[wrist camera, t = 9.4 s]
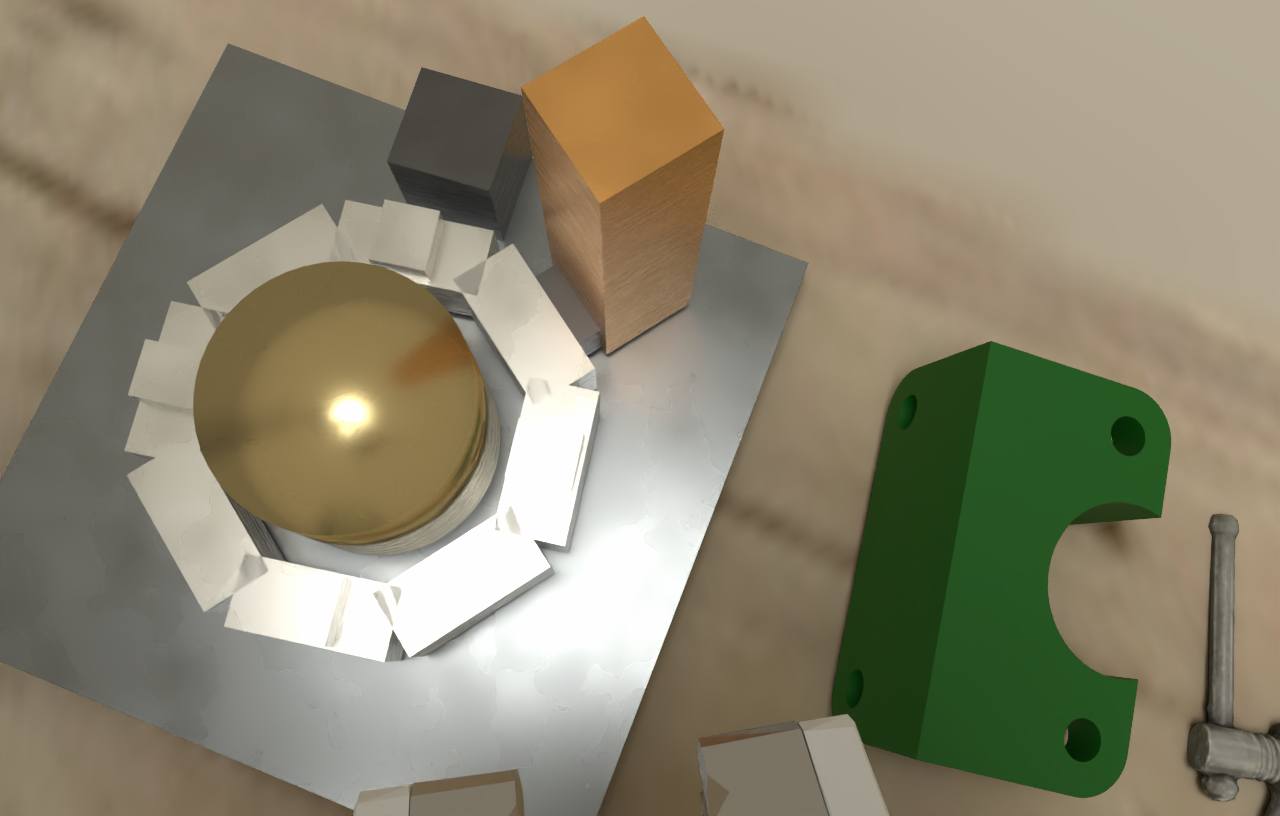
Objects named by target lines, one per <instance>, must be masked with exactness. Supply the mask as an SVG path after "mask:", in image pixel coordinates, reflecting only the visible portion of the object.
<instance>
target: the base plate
mask: <svg viewBox="0 0 1280 816" xmlns="http://www.w3.org/2000/svg"><path fill="white" fill-rule="evenodd" d="M532 156H533V155H532V149H531V143H530V138H529V132H528V126H527V121H526V115H525V109H524V104H523V98H522V96H521V95H517V94H514V93H510V92H507V91H503V90H500V89H496V88H493V87H489V86H486V85H482V84H479V83H475V82H472V81H468V80H465V79H461V78H458V77H454V76H451V75H447V74H443V73H440V72H436V71H433V70H429V69H426V68H421V70H420V73H419V76H418V79H417V81H416V84H415V87H414V89H413V92H412V95H411V97H410V100H409V103H408V105H407V108H406V111H405V110H403V109H400V108H397V107H395V106H392V105H389V104H387V103H384V102H382V101H379V100H376V99H374V98H371V97H368V96H366V95H363V94H360V93H358V92H355V91H352V90H350V89H347V88H345V87H342V86H339V85H337V84H334V83H331V82H329V81H326V80H323V79H321V78H318V77H315V76H313V75H310V74H308V73H305V72H302V71H300V70H297V69H294V68H292V67H289V66H286V65H284V64H281V63H279V62H276V61H273V60H271V59H268V58H265V57H263V56H260V55H257V54H255V53H252V52H249V51H247V50H244V49H242V48H239V47H236V46H234V45H231V44H228V45H227V47H226V48H225V50H224V52H223V54H222V56H221V58H220V60H219V62H218V64H217V66H216V68H215V70H214V72H213V73H212V75H211V77H210V79H209V81H208V83H207V85H206V87H205V89H204V91H203V93H202V95H201V96H200V98H199V100H198V102H197V104H196V106H195V108H194V110H193V112H192V114H191V116H190V118H189V120H188V121H187V123H186V125H185V127H184V129H183V131H182V133H181V135H180V137H179V139H178V141H177V143H176V144H175V146H174V148H173V150H172V152H171V154H170V156H169V158H168V160H167V162H166V164H165V166H164V168H163V169H162V171H161V173H160V175H159V177H158V179H157V181H156V183H155V185H154V187H153V189H152V191H151V192H150V194H149V196H148V198H147V200H146V202H145V204H144V206H143V208H142V210H141V212H140V214H139V216H138V217H137V219H136V221H135V223H134V225H133V227H132V229H131V231H130V233H129V235H128V237H127V239H126V240H125V242H124V244H123V246H122V248H121V250H120V252H119V254H118V256H117V258H116V260H115V262H114V264H113V265H112V267H111V269H110V271H109V273H108V275H107V277H106V279H105V281H104V283H103V285H102V287H101V288H100V290H99V292H98V294H97V296H96V298H95V300H94V302H93V304H92V306H91V308H90V310H89V312H88V313H87V315H86V317H85V319H84V321H83V323H82V325H81V327H80V329H79V331H78V333H77V335H76V336H75V338H74V340H73V342H72V344H71V346H70V348H69V350H68V352H67V354H66V356H65V358H64V360H63V361H62V363H61V365H60V367H59V369H58V371H57V373H56V375H55V377H54V379H53V381H52V383H51V384H50V386H49V388H48V390H47V392H46V394H45V396H44V398H43V400H42V402H41V404H40V406H39V408H38V409H37V411H36V413H35V415H34V417H33V419H32V421H31V423H30V425H29V427H28V429H27V431H26V432H25V434H24V436H23V438H22V440H21V442H20V444H19V446H18V448H17V450H16V452H15V454H14V456H13V457H12V459H11V461H10V463H9V465H8V467H7V469H6V471H5V473H4V475H3V477H2V479H1V480H0V661H1V662H3V663H5V664H8V665H10V666H13V667H15V668H17V669H20V670H22V671H24V672H27V673H29V674H32V675H34V676H36V677H39V678H41V679H43V680H46V681H48V682H51V683H53V684H55V685H58V686H60V687H63V688H65V689H67V690H70V691H72V692H74V693H77V694H79V695H82V696H84V697H86V698H89V699H91V700H93V701H96V702H98V703H101V704H103V705H105V706H108V707H110V708H112V709H115V710H117V711H120V712H122V713H124V714H127V715H129V716H132V717H134V718H136V719H139V720H141V721H143V722H146V723H148V724H151V725H153V726H155V727H158V728H160V729H162V730H165V731H167V732H170V733H172V734H174V735H177V736H179V737H181V738H184V739H186V740H189V741H191V742H193V743H196V744H198V745H201V746H203V747H205V748H208V749H210V750H212V751H215V752H217V753H220V754H222V755H224V756H227V757H229V758H231V759H234V760H236V761H239V762H241V763H243V764H246V765H248V766H250V767H253V768H255V769H258V770H260V771H262V772H265V773H267V774H270V775H272V776H274V777H277V778H279V779H281V780H284V781H286V782H289V783H291V784H293V785H296V786H298V787H300V788H303V789H305V790H308V791H310V792H312V793H315V794H317V795H319V796H322V797H324V798H327V799H329V800H331V801H334V802H336V803H338V804H341V805H343V806H346V807H348V808H350V809H353V810H354V807H355V804H356V801H357V799H358V796H359V793H360V791H364V790H371V789H377V788H384V787H391V786H397V785H404V784H411V783H417V782H425V781H432V780H440V779H447V778H455V777H462V776H470V775H477V774H485V773H492V772H500V771H507V770H515V769H517V770H518V773H519V777H520V781H521V785H522V789H523V798H524V814H525V816H597V814H598V811H599V809H600V806H601V804H602V801H603V798H604V796H605V793H606V791H607V788H608V785H609V783H610V780H611V777H612V775H613V772H614V770H615V767H616V764H617V762H618V759H619V757H620V754H621V751H622V749H623V746H624V744H625V741H626V738H627V736H628V733H629V730H630V728H631V725H632V723H633V720H634V717H635V715H636V712H637V710H638V707H639V704H640V702H641V699H642V697H643V694H644V691H645V689H646V686H647V683H648V681H649V678H650V676H651V673H652V670H653V668H654V665H655V663H656V660H657V657H658V655H659V652H660V650H661V647H662V644H663V642H664V639H665V636H666V634H667V631H668V629H669V626H670V623H671V621H672V618H673V616H674V613H675V610H676V608H677V605H678V602H679V600H680V597H681V595H682V592H683V589H684V587H685V584H686V582H687V579H688V576H689V574H690V571H691V569H692V566H693V563H694V561H695V558H696V555H697V553H698V550H699V548H700V545H701V542H702V540H703V537H704V535H705V532H706V529H707V527H708V524H709V522H710V519H711V516H712V514H713V511H714V508H715V506H716V503H717V501H718V498H719V495H720V493H721V490H722V488H723V485H724V482H725V480H726V477H727V475H728V472H729V469H730V467H731V464H732V461H733V459H734V456H735V454H736V451H737V448H738V446H739V443H740V441H741V438H742V435H743V433H744V430H745V428H746V425H747V422H748V420H749V417H750V414H751V412H752V409H753V407H754V404H755V401H756V399H757V396H758V394H759V391H760V388H761V386H762V383H763V381H764V378H765V375H766V373H767V370H768V367H769V365H770V362H771V360H772V357H773V354H774V352H775V349H776V347H777V344H778V341H779V339H780V336H781V334H782V331H783V328H784V326H785V323H786V320H787V318H788V315H789V313H790V310H791V307H792V305H793V302H794V300H795V297H796V294H797V292H798V289H799V287H800V284H801V281H802V279H803V276H804V273H805V271H806V268H807V266H808V263H807V262H804V261H802V260H799V259H796V258H794V257H791V256H788V255H786V254H783V253H780V252H778V251H775V250H772V249H770V248H767V247H765V246H762V245H759V244H757V243H754V242H751V241H749V240H746V239H743V238H741V237H738V236H735V235H733V234H730V233H728V232H725V231H722V230H720V229H717V228H714V227H712V226H709V225H706V224H705V227H704V232H703V237H702V242H701V247H700V252H699V257H698V262H697V267H696V272H695V277H694V282H693V287H692V292H691V297H690V302H689V304H688V305H686V306H685V307H683V308H681V309H680V310H678V311H677V312H675V313H673V314H672V315H670V316H669V317H667V318H665V319H664V320H662V321H661V322H659V323H657V324H656V325H654V326H652V327H651V328H649V329H648V330H646V331H644V332H643V333H641V334H640V335H638V336H636V337H635V338H633V339H632V340H630V341H628V342H627V343H625V344H623V345H622V346H620V347H619V348H617V349H615V350H614V351H612V352H611V353H609V354H607V355H606V353H605V352H604V350H603V348H602V347H600V348H599V349H597V350H596V351H594V352H592V353H591V354H589V355H587V357H588V358H589V360H590V361H591V363H592V364H593V366H594V367H595V371H596V383H597V388H596V389H594V391H599V392H600V405H601V411H600V415H599V420H598V424H597V429H596V433H595V438H594V442H593V446H592V451H591V455H590V460H589V464H588V469H587V473H586V477H585V482H584V486H583V491H582V495H581V500H580V504H579V509H578V513H577V517H576V522H575V526H574V531H573V535H572V540H571V544H570V548H569V553H565V552H561V551H556V550H552V549H547V548H542V547H539V548H540V549H541V551H542V553H543V554H544V556H545V557H546V559H547V561H548V562H549V564H550V565H551V567H552V569H553V570H554V572H555V573H553V574H552V575H550V576H549V577H547V578H546V579H544V580H542V581H541V582H539V583H538V584H536V585H535V586H533V587H532V588H530V589H529V590H527V591H525V592H524V593H522V594H521V595H519V596H518V597H516V598H515V599H513V600H511V601H510V602H508V603H507V604H505V605H504V606H502V607H501V608H499V609H498V610H496V611H494V612H493V613H491V614H490V615H488V616H487V617H485V618H484V619H482V620H480V621H479V622H477V623H476V624H474V625H473V626H471V627H470V628H468V629H467V630H465V631H463V632H462V633H460V634H459V635H457V636H456V637H454V638H453V639H451V640H449V641H448V642H446V643H445V644H443V645H442V646H440V647H439V648H437V649H436V650H434V651H432V652H431V653H429V654H428V655H426V656H425V657H409V655H408V654H407V652H406V650H405V649H404V651H403V655H402V659H401V661H390V662H383V661H378V660H373V659H369V658H364V657H360V656H355V655H351V654H346V653H342V652H337V651H332V650H328V649H323V648H319V647H314V646H310V645H305V644H301V643H296V642H291V641H287V640H282V639H278V638H273V637H269V636H264V635H260V634H255V633H250V632H246V631H241V630H237V629H232V628H228V627H224V624H225V621H226V617H227V614H221V613H210V612H204V611H203V610H202V608H201V606H200V604H199V603H198V601H197V599H196V597H195V595H194V594H193V592H192V590H191V588H190V587H189V585H188V583H187V581H186V580H185V578H184V576H183V574H182V572H181V571H180V569H179V567H178V565H177V564H176V562H175V560H174V558H173V556H172V555H171V553H170V551H169V549H168V548H167V546H166V544H165V542H164V541H163V539H162V537H161V535H160V533H159V532H158V530H157V528H156V526H155V525H154V523H153V521H152V519H151V517H150V516H149V514H148V512H147V510H146V509H145V507H144V505H143V503H142V502H141V500H140V498H139V496H138V494H137V493H136V491H135V489H134V487H133V486H132V484H131V482H130V480H129V478H128V477H127V474H129V473H131V472H132V471H134V470H136V469H137V468H139V467H141V466H142V465H144V464H146V463H147V462H149V461H148V460H146V459H143V458H141V457H138V456H136V455H133V454H131V453H128V452H126V451H124V450H125V447H126V444H127V440H128V437H129V434H130V431H131V428H132V424H133V421H134V418H135V415H136V412H137V408H138V405H139V402H140V401H138V400H136V399H134V398H132V397H131V396H129V395H128V393H129V389H130V386H131V383H132V380H133V377H134V374H135V370H136V367H137V364H138V361H139V358H140V355H141V351H142V348H143V345H144V342H145V339H148V340H153V341H158V342H159V338H160V335H161V332H162V329H163V326H164V322H165V319H166V316H167V313H168V310H169V306H170V303H171V301H174V302H179V303H184V304H188V305H193V306H198V307H201V305H200V304H199V302H198V300H197V299H196V297H195V295H194V294H193V292H192V290H191V289H190V287H189V285H188V284H187V282H188V281H189V280H191V279H193V278H194V277H196V276H198V275H200V274H201V273H203V272H205V271H207V270H208V269H210V268H212V267H213V266H215V265H217V264H219V263H220V262H222V261H224V260H226V259H227V258H229V257H231V256H232V255H234V254H236V253H238V252H239V251H241V250H243V249H245V248H246V247H248V246H250V245H251V244H253V243H255V242H257V241H258V240H260V239H262V238H264V237H265V236H267V235H269V234H270V233H272V232H274V231H276V230H277V229H279V228H281V227H283V226H284V225H286V224H288V223H289V222H291V221H293V220H295V219H296V218H298V217H300V216H302V215H303V214H305V213H307V212H308V211H310V210H312V209H314V208H315V207H317V206H319V205H321V204H323V206H324V207H325V209H326V210H327V212H328V213H329V215H330V216H331V218H332V219H333V221H334V222H335V224H336V225H337V227H338V225H339V221H340V218H341V214H342V211H343V207H344V204H345V200H349V201H354V202H359V203H364V204H368V205H373V206H378V207H383V204H384V200H385V199H386V200H390V201H395V202H400V203H405V204H410V205H414V206H419V207H424V208H429V209H434V210H438V211H441V214H442V216H443V219H444V220H445V221H450V222H455V223H460V224H464V225H469V226H474V227H479V228H483V229H488V230H493V231H494V233H495V236H496V240H497V243H498V246H499V250H500V251H501V250H503V249H505V248H506V247H508V246H510V245H511V244H514V246H515V247H516V249H517V250H518V252H519V253H520V255H521V256H522V258H523V259H524V261H525V262H526V264H527V266H528V267H529V269H530V270H531V272H532V273H533V275H534V276H535V277H536V276H537V275H539V274H541V273H542V272H544V271H545V270H547V269H549V268H550V267H552V260H551V254H550V248H549V243H548V237H547V231H546V226H545V220H544V214H543V209H542V203H541V197H540V191H539V186H538V180H537V174H536V169H535V163H534V159H532ZM524 399H525V398H524V396H523V395H522V393H521V392H520V390H519V388H518V387H517V385H516V384H515V382H514V381H513V379H512V378H511V376H510V374H509V373H508V371H507V370H506V368H505V367H504V365H503V364H502V362H501V360H500V359H499V357H498V356H497V354H496V353H495V351H494V349H493V348H492V346H491V345H490V343H489V342H488V340H487V339H486V337H485V335H484V334H483V332H482V331H481V329H480V328H479V326H478V325H477V323H476V321H475V320H474V318H473V317H472V316H468V315H463V314H458V313H454V312H449V311H447V310H446V308H445V307H444V306H443V305H442V304H441V303H440V302H439V301H438V300H437V299H436V298H435V297H434V296H433V295H432V294H430V293H429V292H428V291H427V290H426V289H425V288H423V287H422V286H420V285H419V284H417V283H415V282H414V281H412V280H411V279H409V278H407V277H405V276H403V275H401V274H399V273H397V272H394V271H392V270H389V269H386V268H383V267H379V266H376V265H371V264H365V263H360V262H345V261H337V262H323V263H317V264H312V265H307V266H303V267H300V268H297V269H294V270H291V271H288V272H285V273H283V274H281V275H279V276H277V277H275V278H272V279H270V280H269V281H267V282H266V283H264V284H262V285H261V286H259V287H257V288H256V289H254V290H253V291H252V292H251V293H249V294H248V295H247V296H246V297H244V298H243V299H242V300H241V301H240V302H239V303H238V304H237V305H236V306H235V307H234V308H233V309H232V310H231V311H230V312H229V313H228V314H227V315H226V317H225V318H224V319H223V321H222V322H221V323H220V325H219V326H218V327H217V329H216V330H215V332H214V334H213V336H212V337H211V339H210V341H209V343H208V344H207V347H206V349H205V351H204V354H203V356H202V359H201V361H200V365H199V368H198V372H197V376H196V380H195V387H194V395H193V416H194V424H195V431H196V435H197V439H198V442H199V446H200V449H201V452H202V454H203V456H204V459H205V461H206V463H207V465H208V467H209V469H210V470H211V472H212V474H213V475H214V477H215V478H216V480H217V482H218V483H219V484H220V485H221V486H222V487H223V489H224V490H225V491H226V492H227V493H228V495H229V496H230V497H232V498H233V499H234V500H235V501H236V502H237V503H238V504H239V505H240V506H242V507H243V508H244V509H246V510H247V511H249V512H250V513H252V514H253V515H255V516H256V517H258V518H260V519H261V520H262V522H263V523H264V525H265V527H266V528H267V530H268V532H269V534H270V535H271V537H272V539H273V540H274V542H275V544H276V546H277V547H278V549H279V551H280V552H281V554H282V556H283V558H284V559H285V561H286V562H289V563H293V564H298V565H302V566H307V567H312V568H316V569H321V570H325V571H330V572H335V573H339V574H344V575H348V576H353V577H357V578H362V579H367V580H371V581H376V582H380V583H385V584H387V583H389V582H390V581H392V580H393V579H395V578H396V577H398V576H400V575H401V574H403V573H404V572H406V571H407V570H409V569H411V568H412V567H414V566H415V565H417V564H419V563H420V562H422V561H423V560H425V559H426V558H428V557H430V556H431V555H433V554H434V553H436V552H437V551H439V550H441V549H442V548H444V547H445V546H447V545H449V544H450V543H452V542H453V541H455V540H456V539H458V538H460V537H461V536H463V535H464V534H466V533H468V532H469V531H471V530H472V529H474V528H475V527H477V526H479V525H480V524H482V523H483V522H485V521H486V520H488V519H490V518H491V517H493V516H494V515H496V514H497V511H498V507H499V503H500V499H501V495H502V490H503V486H504V482H505V478H506V477H505V473H506V469H507V465H508V461H509V457H510V452H511V448H512V444H513V440H514V436H515V432H516V427H517V423H518V419H520V416H521V411H522V407H523V403H524Z"/></svg>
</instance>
